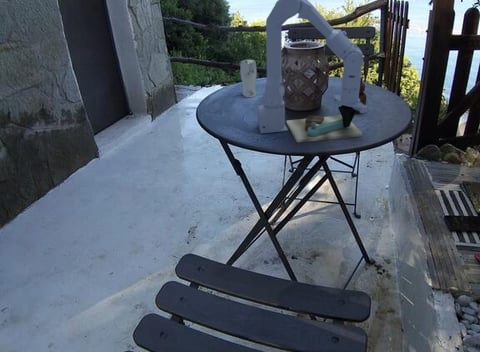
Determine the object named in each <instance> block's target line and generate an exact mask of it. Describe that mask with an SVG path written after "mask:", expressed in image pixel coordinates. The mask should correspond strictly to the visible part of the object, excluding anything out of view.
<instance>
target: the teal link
mask: <svg viewBox="0 0 480 352" xmlns="http://www.w3.org/2000/svg"><path fill="white" fill-rule="evenodd" d="M340 128H344V126H343V120H342V119H341V120H337V121H333V122H330V123H326V124H322V125H318V126H316V123H315V122H312V124H311V127H309V128H308V135H309V136H318V135H319V134H322V133H326V132H329V131H333V130H336V129H340Z"/></svg>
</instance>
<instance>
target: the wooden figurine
mask: <svg viewBox="0 0 480 352" xmlns="http://www.w3.org/2000/svg"><path fill="white" fill-rule="evenodd" d="M365 90H366V84H365V83H364V82H363V77H361V81H360V89H359V99H360V102H361V103H362V104H364V105H365V106H367V94H366V93H365ZM359 113H360V111H357V112H356V114H359ZM360 114H361V113H360Z"/></svg>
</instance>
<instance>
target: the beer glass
mask: <svg viewBox="0 0 480 352" xmlns="http://www.w3.org/2000/svg"><path fill="white" fill-rule="evenodd" d="M256 62H257V61H256V60H255V59H243V60H241V61H240V64H239V65H240V78H241V82H242V89H243V90H242V96H243V95H244V96H246V97H245V98H255V97H256V96H257V91H256V81H257V63H256ZM244 96H243V97H244Z"/></svg>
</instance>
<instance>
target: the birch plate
mask: <svg viewBox="0 0 480 352" xmlns="http://www.w3.org/2000/svg"><path fill="white" fill-rule="evenodd" d="M323 117H324V121H323V122H322V124H326V123H330V122H333V121H337V120H341V119H342V116H341V114H340V115H331V116H323ZM305 120H306V118H301V119H300V118H299V119H289V120H285V125H286V126H287V128H288V130H289V131H290V133H291V135H292V136H293V138H294V140H295V141H296V143H306V142H307V143H308V142H316V141H317V142H318V141H327V140H337V139H347V138H357V137H359V138H360V137H363V132H362V131H361V130H360V129H359V128H358V127H357V126H356V125H355V124H354V123H353V121H351V124H350V126H349V127H346V128H345V127H344V128H340V129H336V130H333V131H329V132H326V133H322V134H319V135H318V136H309V135H308V131H307V130H305ZM322 124H316V126H318V125H322Z"/></svg>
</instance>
